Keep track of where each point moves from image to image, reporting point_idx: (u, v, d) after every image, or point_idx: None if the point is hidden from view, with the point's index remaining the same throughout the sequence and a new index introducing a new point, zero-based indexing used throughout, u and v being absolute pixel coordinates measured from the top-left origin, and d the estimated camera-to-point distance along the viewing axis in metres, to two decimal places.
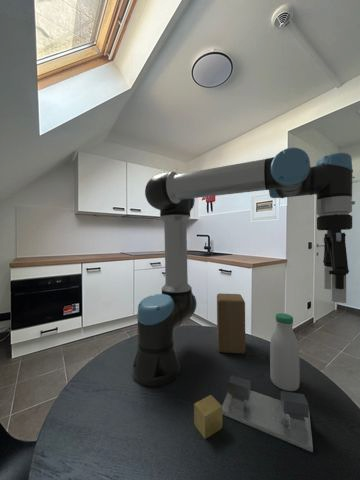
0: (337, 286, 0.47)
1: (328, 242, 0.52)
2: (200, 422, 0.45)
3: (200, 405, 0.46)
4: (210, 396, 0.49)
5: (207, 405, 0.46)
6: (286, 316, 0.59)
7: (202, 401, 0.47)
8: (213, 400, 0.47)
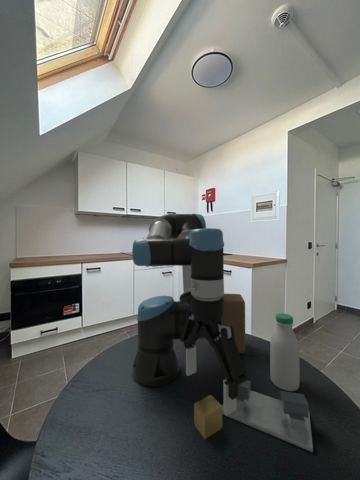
0: None
1: None
2: (200, 422, 0.45)
3: (200, 405, 0.46)
4: (210, 396, 0.49)
5: (207, 405, 0.46)
6: (286, 316, 0.59)
7: (202, 401, 0.47)
8: (213, 400, 0.47)
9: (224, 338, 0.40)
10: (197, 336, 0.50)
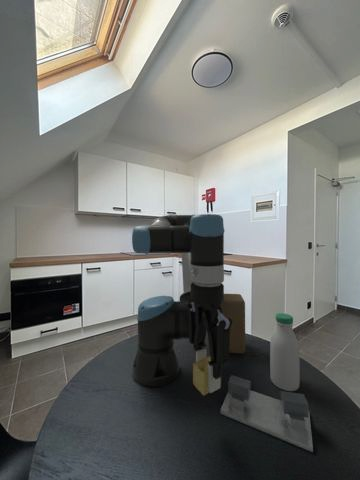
0: None
1: None
2: (199, 379, 0.45)
3: (199, 364, 0.46)
4: (209, 357, 0.49)
5: (206, 364, 0.46)
6: (286, 316, 0.59)
7: (201, 361, 0.48)
8: None
9: (221, 329, 0.41)
10: (203, 330, 0.48)
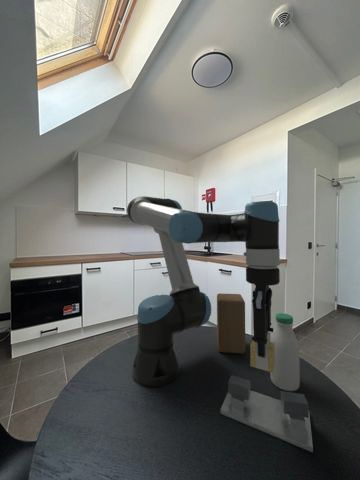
0: None
1: None
2: None
3: None
4: (272, 343, 0.49)
5: None
6: (286, 316, 0.59)
7: None
8: (270, 345, 0.48)
9: (253, 306, 0.44)
10: None
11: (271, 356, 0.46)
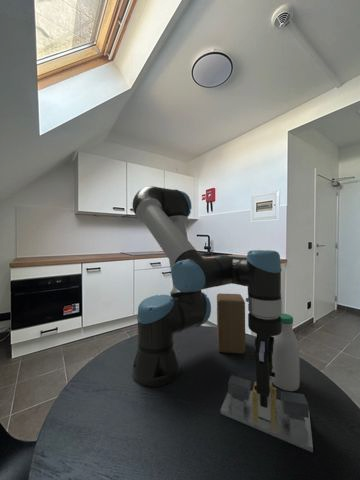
0: None
1: None
2: None
3: None
4: (274, 388, 0.50)
5: None
6: (286, 316, 0.59)
7: None
8: (272, 391, 0.49)
9: (256, 358, 0.45)
10: None
11: (273, 404, 0.47)
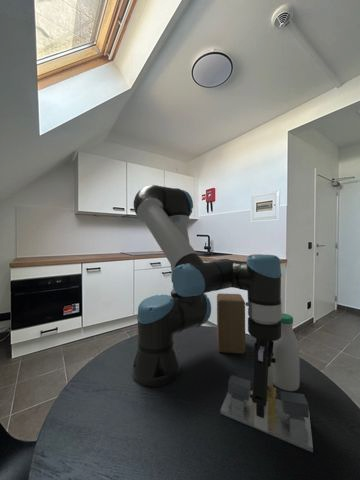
0: None
1: None
2: None
3: None
4: (274, 388, 0.50)
5: None
6: (286, 316, 0.59)
7: None
8: (272, 391, 0.49)
9: None
10: None
11: (273, 404, 0.47)
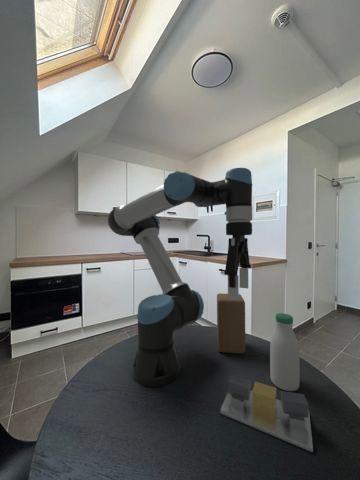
0: None
1: None
2: None
3: (258, 385, 0.51)
4: (274, 388, 0.50)
5: (263, 389, 0.49)
6: (286, 316, 0.59)
7: (263, 385, 0.51)
8: (272, 391, 0.49)
9: None
10: (242, 257, 0.64)
11: (273, 404, 0.47)
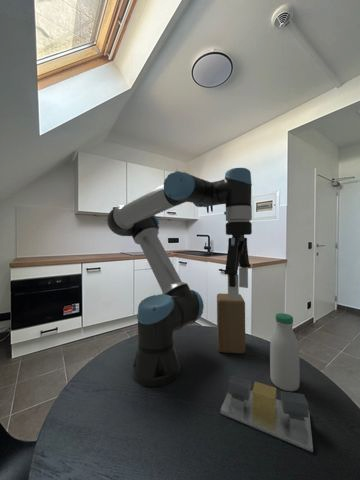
0: None
1: None
2: None
3: (258, 385, 0.51)
4: (274, 388, 0.50)
5: (263, 389, 0.49)
6: (286, 316, 0.59)
7: (263, 385, 0.51)
8: (272, 391, 0.49)
9: None
10: (242, 257, 0.64)
11: (273, 404, 0.47)
